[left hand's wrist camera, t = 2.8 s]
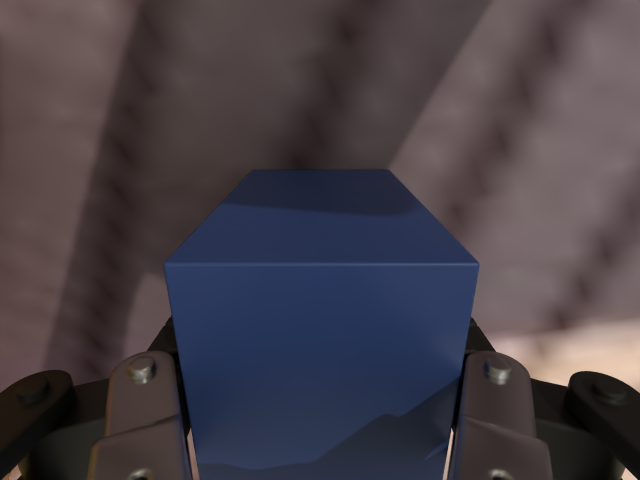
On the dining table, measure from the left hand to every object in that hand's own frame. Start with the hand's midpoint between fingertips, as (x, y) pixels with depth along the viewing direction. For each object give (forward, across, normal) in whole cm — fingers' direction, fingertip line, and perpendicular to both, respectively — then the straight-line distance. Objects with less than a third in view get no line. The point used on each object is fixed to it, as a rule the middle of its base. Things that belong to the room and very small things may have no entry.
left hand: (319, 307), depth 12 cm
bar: (+5, 0, +8) cm, 9 cm away
